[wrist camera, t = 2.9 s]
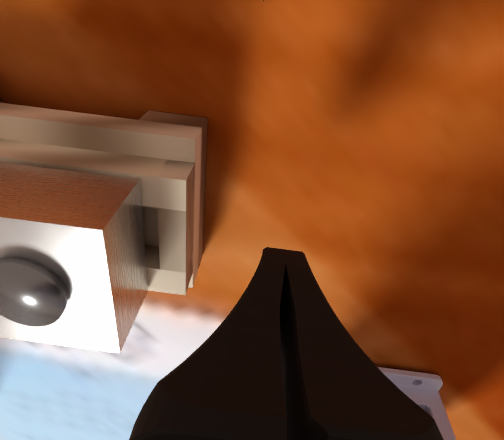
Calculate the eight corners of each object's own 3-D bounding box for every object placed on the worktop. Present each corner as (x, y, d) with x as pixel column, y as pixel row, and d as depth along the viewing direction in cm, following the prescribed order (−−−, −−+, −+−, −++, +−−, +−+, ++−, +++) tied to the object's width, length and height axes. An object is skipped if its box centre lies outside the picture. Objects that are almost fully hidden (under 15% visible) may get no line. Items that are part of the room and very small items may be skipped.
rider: (152, 161, 13) (95, 239, 9) (158, 267, 16) (115, 363, 12) (15, 144, 14) (-99, 214, 10) (44, 253, 16) (-37, 343, 12)
